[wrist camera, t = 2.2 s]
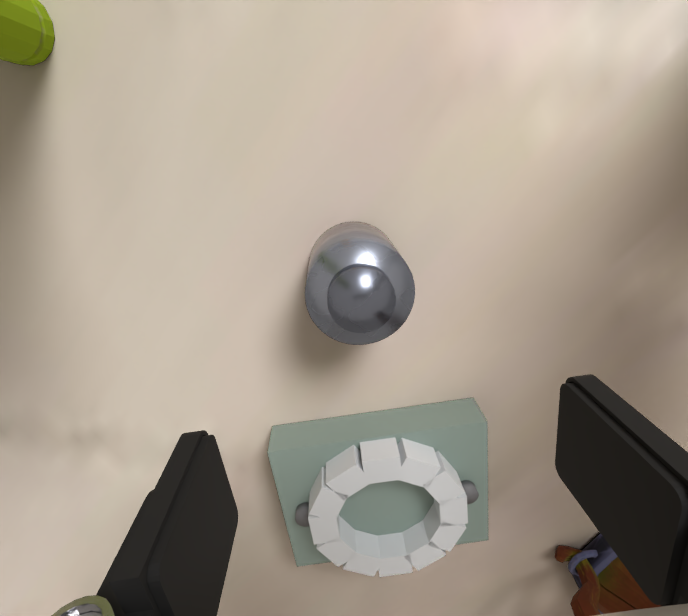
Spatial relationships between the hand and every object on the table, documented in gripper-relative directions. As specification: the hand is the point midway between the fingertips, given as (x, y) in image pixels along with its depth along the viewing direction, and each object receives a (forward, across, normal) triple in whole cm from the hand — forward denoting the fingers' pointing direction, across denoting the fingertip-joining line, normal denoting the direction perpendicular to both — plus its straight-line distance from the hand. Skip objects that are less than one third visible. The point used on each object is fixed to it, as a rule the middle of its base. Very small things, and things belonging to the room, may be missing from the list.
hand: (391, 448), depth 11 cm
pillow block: (+18, 0, +18) cm, 25 cm away
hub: (+18, 0, 0) cm, 18 cm away
